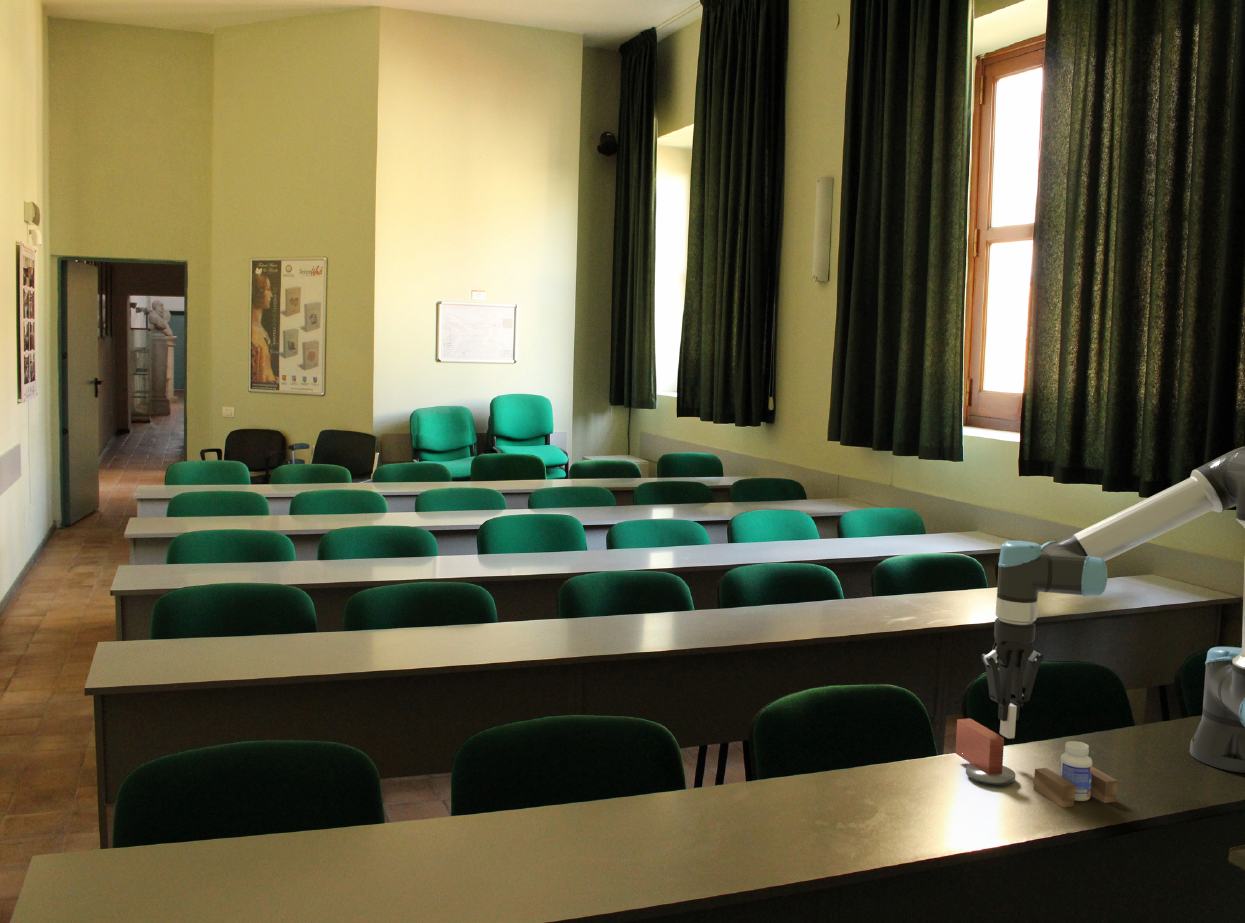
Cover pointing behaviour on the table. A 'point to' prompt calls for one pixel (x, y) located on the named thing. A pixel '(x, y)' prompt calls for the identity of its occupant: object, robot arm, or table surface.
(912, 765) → the table surface
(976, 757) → the block on round base
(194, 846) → the table surface
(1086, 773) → the pill bottle
